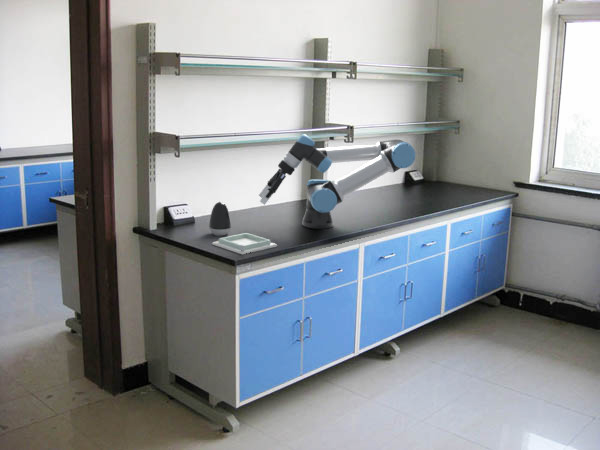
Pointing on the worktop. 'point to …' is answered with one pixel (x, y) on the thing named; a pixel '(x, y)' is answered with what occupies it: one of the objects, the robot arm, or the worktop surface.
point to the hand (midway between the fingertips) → (261, 199)
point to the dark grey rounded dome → (220, 220)
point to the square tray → (244, 243)
